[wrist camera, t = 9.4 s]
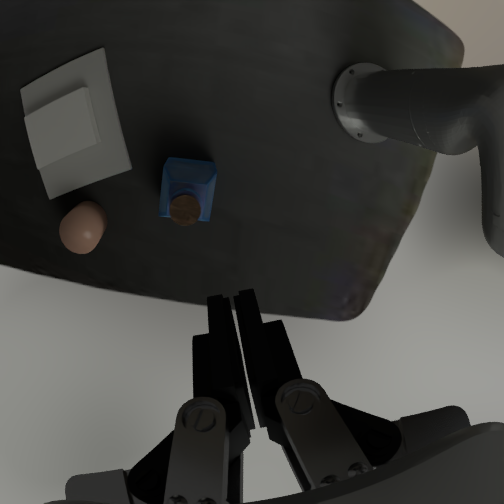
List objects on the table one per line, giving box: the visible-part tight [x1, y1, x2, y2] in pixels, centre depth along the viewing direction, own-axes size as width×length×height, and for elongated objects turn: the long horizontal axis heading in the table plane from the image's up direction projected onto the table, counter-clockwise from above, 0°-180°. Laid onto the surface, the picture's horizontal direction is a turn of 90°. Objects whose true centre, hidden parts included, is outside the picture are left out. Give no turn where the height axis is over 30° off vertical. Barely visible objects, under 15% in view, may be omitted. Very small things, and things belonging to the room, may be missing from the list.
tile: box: [24, 87, 101, 169], centre depth 30 cm, size 2×8×10 cm
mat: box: [20, 48, 132, 199], centre depth 31 cm, size 14×18×1 cm
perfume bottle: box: [159, 157, 217, 226], centre depth 33 cm, size 6×6×12 cm
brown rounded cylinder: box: [59, 201, 107, 254], centre depth 36 cm, size 6×6×5 cm
